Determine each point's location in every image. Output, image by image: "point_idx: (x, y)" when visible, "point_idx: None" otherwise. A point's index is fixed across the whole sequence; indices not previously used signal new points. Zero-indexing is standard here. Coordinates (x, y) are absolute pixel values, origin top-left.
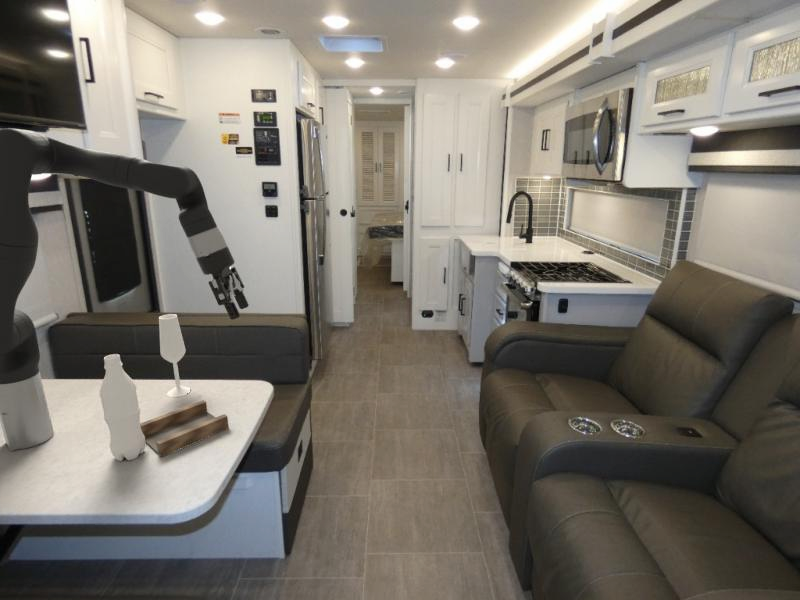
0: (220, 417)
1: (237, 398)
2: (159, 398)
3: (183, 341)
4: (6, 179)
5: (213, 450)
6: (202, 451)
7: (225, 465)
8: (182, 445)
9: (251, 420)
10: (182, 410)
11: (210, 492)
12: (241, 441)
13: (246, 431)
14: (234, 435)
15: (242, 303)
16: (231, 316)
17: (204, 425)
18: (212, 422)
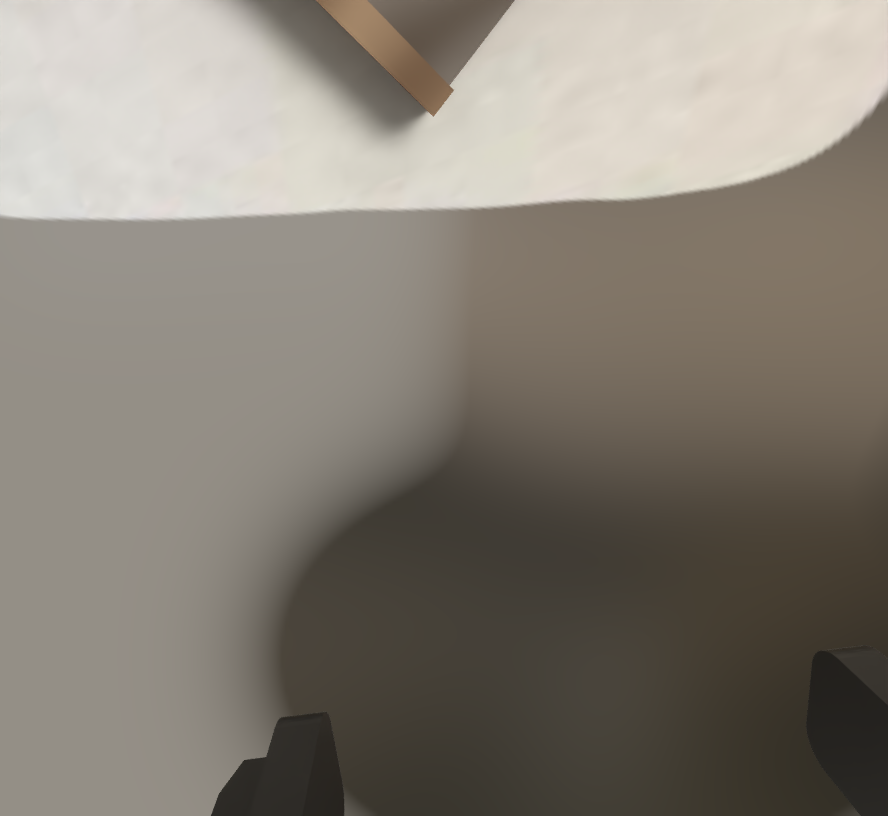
0: (419, 82)
1: (720, 39)
2: None
3: None
4: None
5: (253, 108)
6: (237, 56)
7: (170, 204)
8: None
9: (492, 193)
10: None
11: (13, 211)
12: (332, 207)
13: (406, 202)
14: (373, 160)
15: (876, 763)
16: (234, 797)
17: (337, 21)
18: (372, 55)
